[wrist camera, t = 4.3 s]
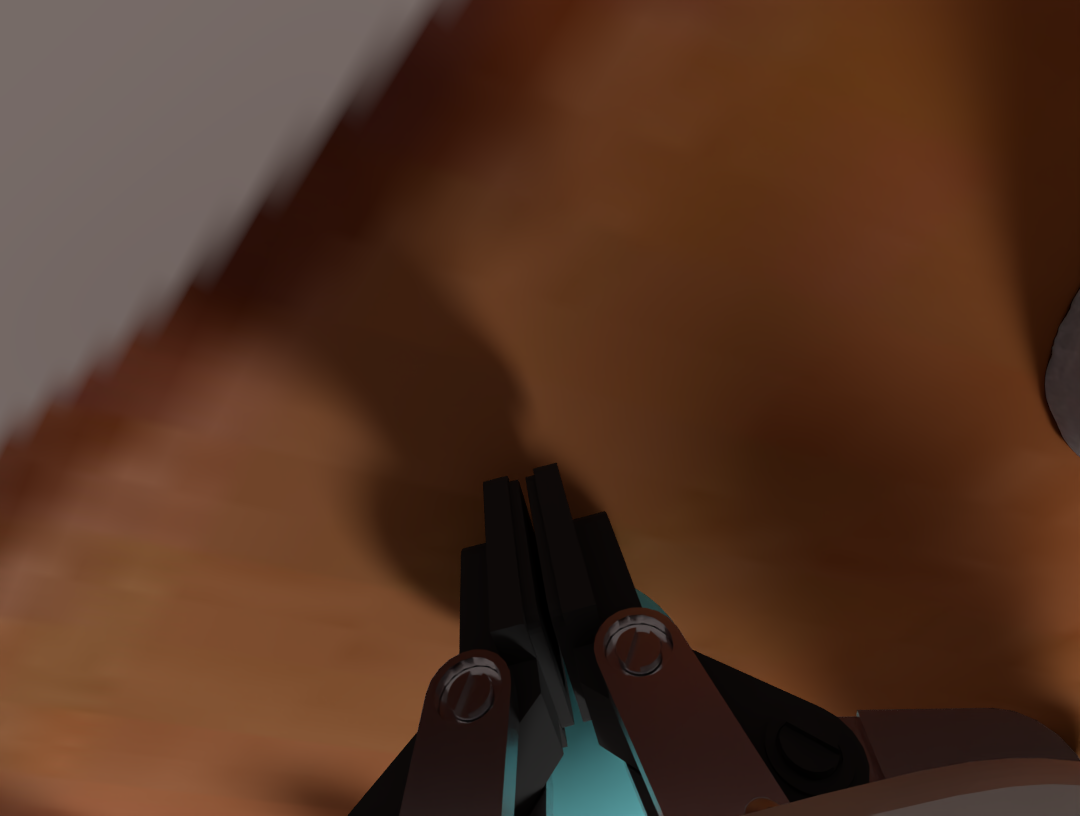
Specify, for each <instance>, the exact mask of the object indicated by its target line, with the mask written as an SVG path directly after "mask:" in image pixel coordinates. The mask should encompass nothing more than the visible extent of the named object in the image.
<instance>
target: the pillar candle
mask: <svg viewBox="0 0 1080 816" xmlns="http://www.w3.org/2000/svg"><path fill="white" fill-rule="evenodd" d="M1045 392H1046V398H1047V402H1048V404H1049V408H1050V410H1051V412H1052V414H1053V417H1054V418H1055V420H1056V422H1057V425H1058V428H1059V430H1060V432H1061V434H1062V437H1063V438H1064V440H1065V441H1066V442H1067V444H1068V445H1069V447H1070V448H1071V449H1072V450H1073V451H1074V452H1075V453H1076V454H1077V455H1078V456H1079V457H1080V289H1079V291H1078V293H1077V294H1076V296H1075V298H1074V299H1073V301H1072V304H1071V309H1070V310H1069V312H1068V313H1067V316H1066V317H1065V318H1064V320H1063V322H1062V323H1061V324H1060V327H1059V328H1058V333H1057V336H1056V337H1055V340H1054V345H1053V347H1052V357H1051V359H1050V361H1049V364H1048V367H1047V370H1046V375H1045Z"/></svg>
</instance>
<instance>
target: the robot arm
mask: <svg viewBox="0 0 1080 816" xmlns="http://www.w3.org/2000/svg"><path fill="white" fill-rule="evenodd" d="M533 471H534V475H533V476H530V477H526V484H527V490H528V496H529V502H530V507H531V513H532V519H533V525H534V529H533V526H532V523H531V519H530V516H529V513H528V510H527V506H526V503H525V500H524V496H523V493H522V490H521V487H520V483H519V481H518V480H514V481H511V482H510V481H509V478H508V476H504V477H500V478H496V479H493V480H489V481H485V482H483V492H484V513H485V535H486V543H483V544H479V545H475V546H471V547H467V548H464V549H462V551H461V587H460V652H459V654H458V655H457V656H455V657H453V658H451V659H449V660H448V661H447V662H446V663H445V664H444V665H443V666H442V667H441V668H440V669H439V670H438V671H437V673H436V674H435V675H434V677H433V678H432V680H431V682H430V684H429V687H428V690H427V692H426V696H425V700H424V705H423V709H422V714H421V718H420V723H419V727H418V732H417V733H416V734H415V736H414V737H413V738H412V739H411V740H410V741H409V743H408V744H407V745H406V746H405V747H404V749H403V750H402V751H401V752H400V753H399V755H398V756H397V757H396V758H395V759H394V761H393V762H392V763H391V764H390V765H389V767H388V768H387V769H386V770H385V771H384V773H383V774H382V775H381V776H380V777H379V779H378V780H377V781H376V782H375V783H374V785H373V786H372V787H371V788H370V789H369V791H368V792H367V793H366V794H365V795H364V797H363V798H362V799H361V800H360V801H359V803H358V804H357V805H356V806H355V807H354V809H353V810H352V811H351V812H350V813H349V814H348V816H553V781H552V775H551V774H552V773H553V771H554V770H555V768H556V766H557V765H558V763H559V761H560V760H561V758H562V757H563V755H564V753H563V748H564V747H568V745H567V739H566V733H565V727H568V726H572V725H574V717H573V711H572V706H571V701H570V695H569V690H568V685H567V679H566V674H565V668H564V663H565V666H566V669H567V673H568V676H569V679H570V682H571V685H572V688H573V691H574V695H575V698H576V701H577V704H578V707H579V710H580V713H581V717H582V720H583V722H587V721H590V720H592V724H593V727H594V730H595V733H596V737H597V740H598V743H599V745H600V746H601V747H603V748H604V749H606V750H607V751H609V752H611V753H612V754H614V755H615V756H617V757H618V758H620V759H621V760H623V761H624V764H625V768H626V770H627V773H628V775H629V778H630V780H631V783H632V785H633V788H634V790H635V793H636V795H637V798H638V800H639V803H640V805H641V807H642V810H643V812H644V815H645V816H1080V759H1079V758H1078V756H1077V755H1076V753H1075V752H1074V751H1073V750H1072V749H1071V748H1070V747H1069V746H1068V745H1067V744H1066V743H1065V742H1064V741H1063V740H1062V739H1061V738H1060V736H1059V735H1057V734H1056V733H1054V732H1053V731H1051V730H1050V729H1048V728H1047V727H1046V726H1044V725H1043V724H1041V723H1040V722H1038V721H1037V720H1034V719H1032V718H1029V717H1027V716H1024V715H1022V714H1020V713H1017V712H1015V711H1010V710H1003V709H996V708H963V709H898V710H857V716H856V717H836V716H835V715H833V714H831V713H830V712H828V711H826V710H825V709H823V708H821V707H819V706H817V705H814V704H812V703H810V702H808V701H806V700H803V699H801V698H799V697H797V696H794V695H792V694H790V693H788V692H785V691H783V690H781V689H779V688H777V687H774V686H772V685H770V684H768V683H765V682H763V681H761V680H759V679H757V678H754V677H752V676H750V675H748V674H745V673H743V672H741V671H739V670H736V669H734V668H732V667H730V666H728V665H725V664H723V663H721V662H719V661H716V660H714V659H712V658H710V657H708V656H705V655H703V654H701V653H699V652H696V651H694V650H692V649H691V647H690V646H689V644H688V643H687V641H686V640H685V638H684V636H683V635H682V633H681V632H680V630H679V629H678V627H677V626H676V625H675V624H674V623H673V622H672V620H671V619H670V618H669V617H667V616H665V615H664V614H662V613H660V612H659V611H656V610H652V609H649V608H642V606H641V603H640V600H639V598H638V595H637V592H636V590H635V587H634V584H633V582H632V579H631V576H630V574H629V571H628V569H627V566H626V563H625V561H624V558H623V555H622V553H621V550H620V547H619V545H618V542H617V539H616V537H615V534H614V531H613V529H612V526H611V524H610V521H609V518H608V516H607V513H606V512H605V511H604V512H600V513H596V514H593V515H589V516H585V517H581V518H577V519H574V520H572V517H571V513H570V509H569V506H568V502H567V499H566V495H565V492H564V488H563V484H562V481H561V477H560V474H559V470H558V467H557V463H554V464H550V465H546V466H542V467H538V468H534V469H533ZM534 530H535V533H534ZM562 657H563V658H562ZM563 660H564V663H563Z"/></svg>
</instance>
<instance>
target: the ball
mask: <svg viewBox="0 0 1080 816" xmlns="http://www.w3.org/2000/svg"><path fill="white" fill-rule="evenodd" d="M635 590H636V592H637V595H638V598H639V600H640V603H641V606H642V608H649V609H652V610H656V611H659V612H660V613H662V614H664V615H665V616H667V617H669V616H668V615H667V614H666V613H665V612H664V611H663V610H662V609H661V608H660V606H659V605H657V604H656V603H655V602H654V601H653V600H651V599H650V598H649V597H648V596H646V595H645V594H643V593H642V592H640V591H639V590H637V589H635ZM669 618H670V617H669ZM672 622H673V621H672ZM562 658H563V657H562ZM563 663H564V660H563ZM564 668H565V674H566V679H567V685H568V690H569V695H570V701H571V706H572V711H573V717H574V725H572V726H568V727H565V733H566V739H567V745H568V747H564V748H563V753H564V755H563V757H562V758H561V760H560V761H559V763H558V765H557V766H556V768H555V770H554V771H553V773H552V774H551V775H552V781H553V816H645V815H644V812H643V810H642V807H641V805H640V803H639V800H638V798H637V795H636V793H635V790H634V788H633V785H632V783H631V780H630V778H629V775H628V773H627V770H626V768H625V764H624V761H623V760H621V759H620V758H618V757H617V756H615V755H614V754H612V753H611V752H609V751H607V750H606V749H604V748H603V747H601V746H600V745H599V743H598V740H597V737H596V733H595V730H594V727H593V724H592V720H590V721H587V722H583V720H582V717H581V713H580V710H579V707H578V704H577V701H576V698H575V695H574V691H573V688H572V685H571V682H570V679H569V676H568V673H567V669H566V666H565V663H564Z"/></svg>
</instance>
